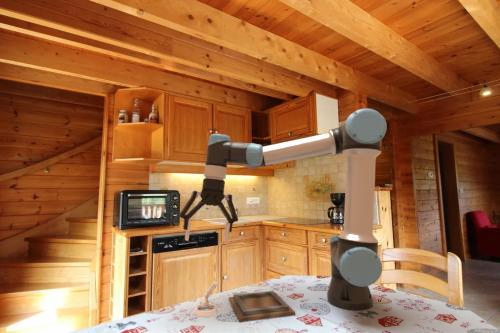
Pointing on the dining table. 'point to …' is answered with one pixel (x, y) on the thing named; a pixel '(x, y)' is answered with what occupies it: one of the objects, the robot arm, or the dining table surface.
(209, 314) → the hook
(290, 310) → the picture frame
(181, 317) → the dining table surface
